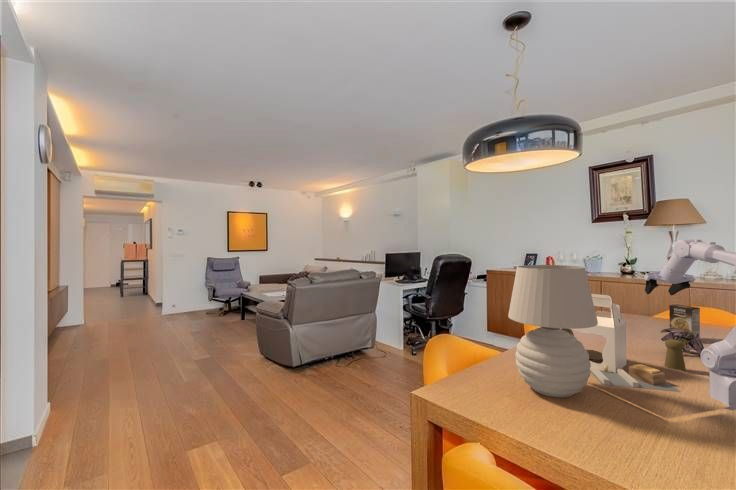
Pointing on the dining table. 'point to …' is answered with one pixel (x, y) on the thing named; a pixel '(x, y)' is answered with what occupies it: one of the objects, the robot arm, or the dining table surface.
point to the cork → (674, 355)
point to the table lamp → (552, 327)
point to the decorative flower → (684, 339)
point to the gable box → (608, 335)
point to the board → (626, 380)
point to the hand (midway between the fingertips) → (658, 292)
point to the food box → (685, 318)
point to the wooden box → (647, 374)
